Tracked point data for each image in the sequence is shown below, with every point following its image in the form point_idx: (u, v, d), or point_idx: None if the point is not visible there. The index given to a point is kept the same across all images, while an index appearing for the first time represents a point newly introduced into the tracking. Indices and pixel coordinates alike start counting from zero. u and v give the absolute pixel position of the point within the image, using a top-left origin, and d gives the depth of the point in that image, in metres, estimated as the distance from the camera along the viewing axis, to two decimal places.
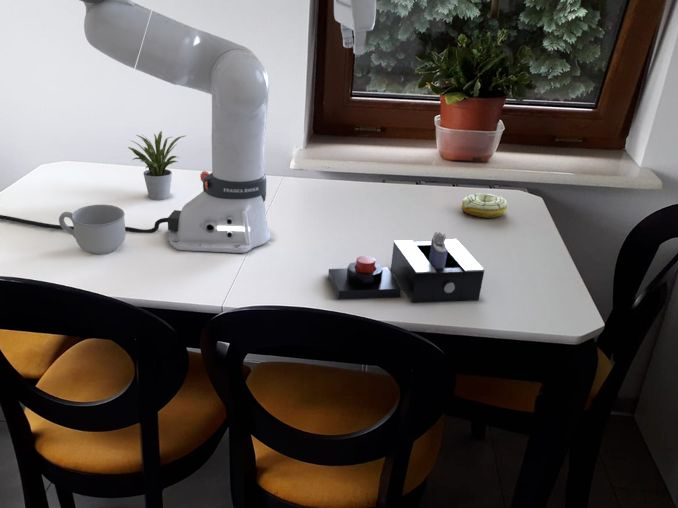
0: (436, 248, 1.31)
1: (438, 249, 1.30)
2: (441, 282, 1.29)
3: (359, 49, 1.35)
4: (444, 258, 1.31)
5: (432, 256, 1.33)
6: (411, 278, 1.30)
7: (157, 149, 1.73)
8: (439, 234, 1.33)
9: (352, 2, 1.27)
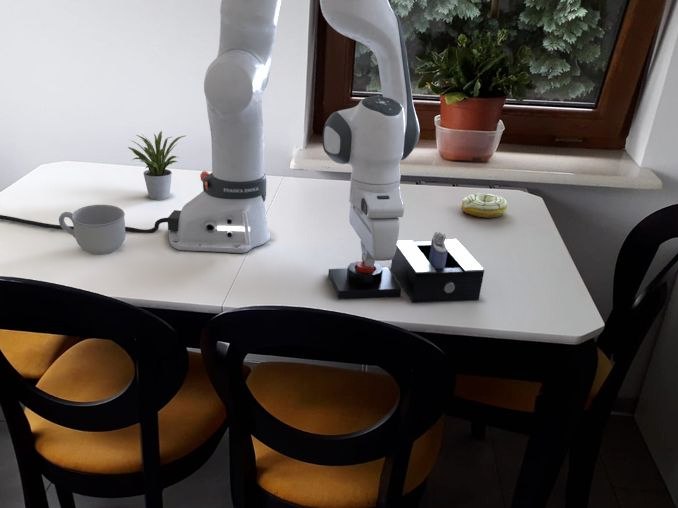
0: (436, 248, 1.31)
1: (438, 249, 1.30)
2: (441, 282, 1.29)
3: (369, 261, 1.32)
4: (444, 258, 1.31)
5: (432, 256, 1.33)
6: (411, 278, 1.30)
7: (157, 149, 1.73)
8: (439, 234, 1.33)
9: (374, 234, 1.21)
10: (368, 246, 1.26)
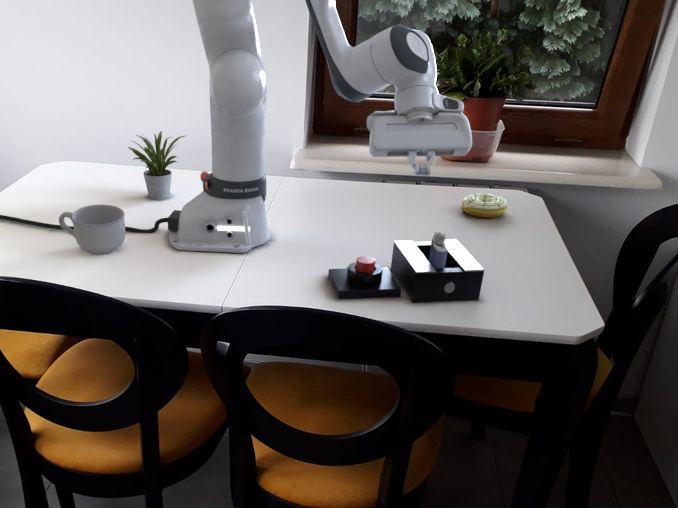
0: (436, 248, 1.31)
1: (438, 249, 1.30)
2: (441, 282, 1.29)
3: None
4: (444, 258, 1.31)
5: (432, 256, 1.33)
6: (411, 278, 1.30)
7: (157, 149, 1.73)
8: (439, 234, 1.33)
9: (468, 123, 1.39)
10: (451, 142, 1.38)
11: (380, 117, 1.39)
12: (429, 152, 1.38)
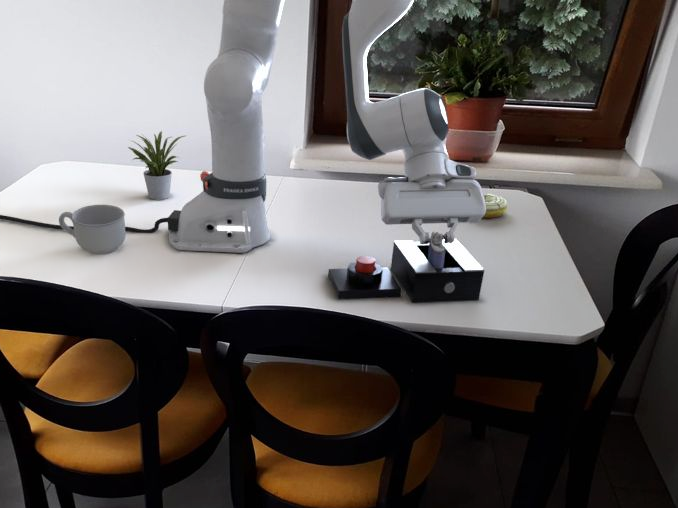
0: (434, 248, 1.31)
1: (436, 249, 1.30)
2: (441, 282, 1.29)
3: None
4: (442, 257, 1.31)
5: (430, 256, 1.33)
6: (411, 278, 1.30)
7: (157, 149, 1.73)
8: (436, 234, 1.33)
9: (481, 190, 1.36)
10: (465, 209, 1.35)
11: (392, 184, 1.35)
12: (452, 219, 1.35)
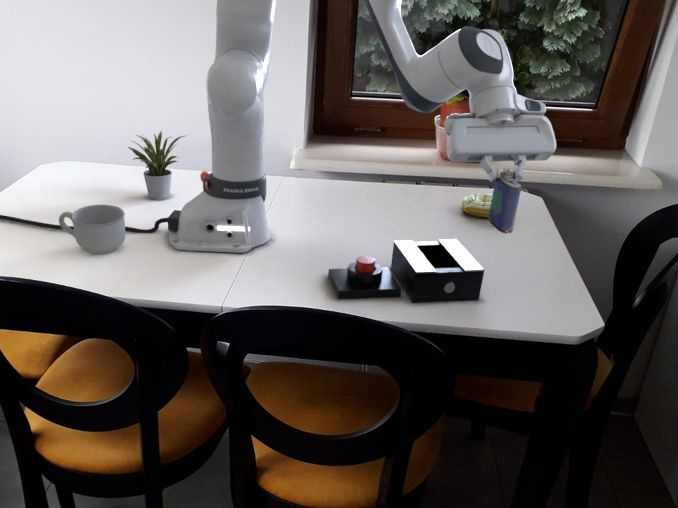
0: (509, 184, 1.26)
1: (512, 185, 1.26)
2: (441, 282, 1.29)
3: None
4: (519, 194, 1.26)
5: (504, 194, 1.28)
6: (411, 278, 1.30)
7: (157, 149, 1.73)
8: (508, 170, 1.28)
9: (551, 126, 1.31)
10: (535, 145, 1.30)
11: (460, 119, 1.30)
12: (520, 156, 1.30)
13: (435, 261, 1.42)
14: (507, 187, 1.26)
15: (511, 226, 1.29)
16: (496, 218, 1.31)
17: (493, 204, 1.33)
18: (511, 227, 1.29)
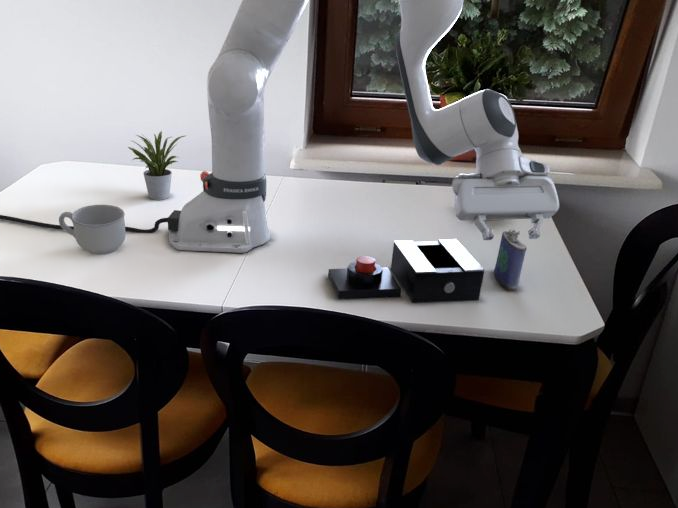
0: (515, 245, 1.33)
1: (518, 246, 1.32)
2: (441, 282, 1.29)
3: None
4: (524, 255, 1.33)
5: (509, 254, 1.34)
6: (411, 278, 1.30)
7: (157, 149, 1.73)
8: (514, 231, 1.35)
9: (554, 187, 1.38)
10: (539, 205, 1.37)
11: (467, 180, 1.36)
12: (537, 215, 1.37)
13: (435, 261, 1.42)
14: (513, 248, 1.33)
15: (516, 284, 1.36)
16: (501, 275, 1.38)
17: (499, 262, 1.39)
18: (516, 285, 1.36)
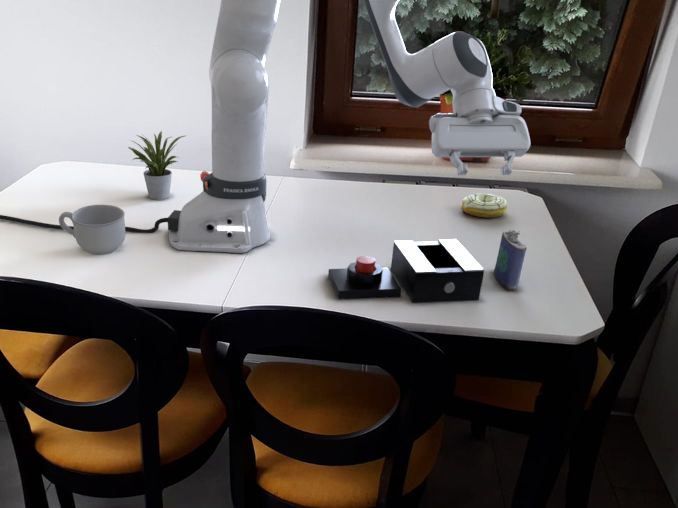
0: (515, 245, 1.33)
1: (518, 246, 1.32)
2: (441, 282, 1.29)
3: None
4: (524, 255, 1.33)
5: (509, 254, 1.34)
6: (411, 278, 1.30)
7: (157, 149, 1.73)
8: (514, 231, 1.35)
9: (526, 126, 1.45)
10: (511, 143, 1.44)
11: (443, 118, 1.43)
12: (509, 152, 1.44)
13: (435, 261, 1.42)
14: (513, 248, 1.33)
15: (516, 284, 1.36)
16: (501, 275, 1.38)
17: (499, 262, 1.39)
18: (516, 285, 1.36)
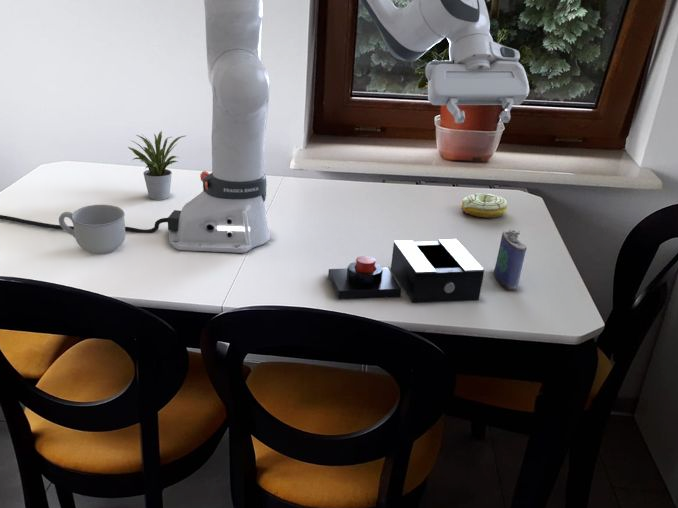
0: (515, 245, 1.33)
1: (518, 246, 1.32)
2: (441, 282, 1.29)
3: None
4: (524, 255, 1.33)
5: (509, 254, 1.34)
6: (411, 278, 1.30)
7: (157, 149, 1.73)
8: (514, 231, 1.35)
9: (525, 72, 1.41)
10: (509, 89, 1.40)
11: (439, 65, 1.40)
12: (508, 99, 1.41)
13: (435, 261, 1.42)
14: (513, 248, 1.33)
15: (516, 284, 1.36)
16: (501, 275, 1.38)
17: (499, 262, 1.39)
18: (516, 285, 1.36)
